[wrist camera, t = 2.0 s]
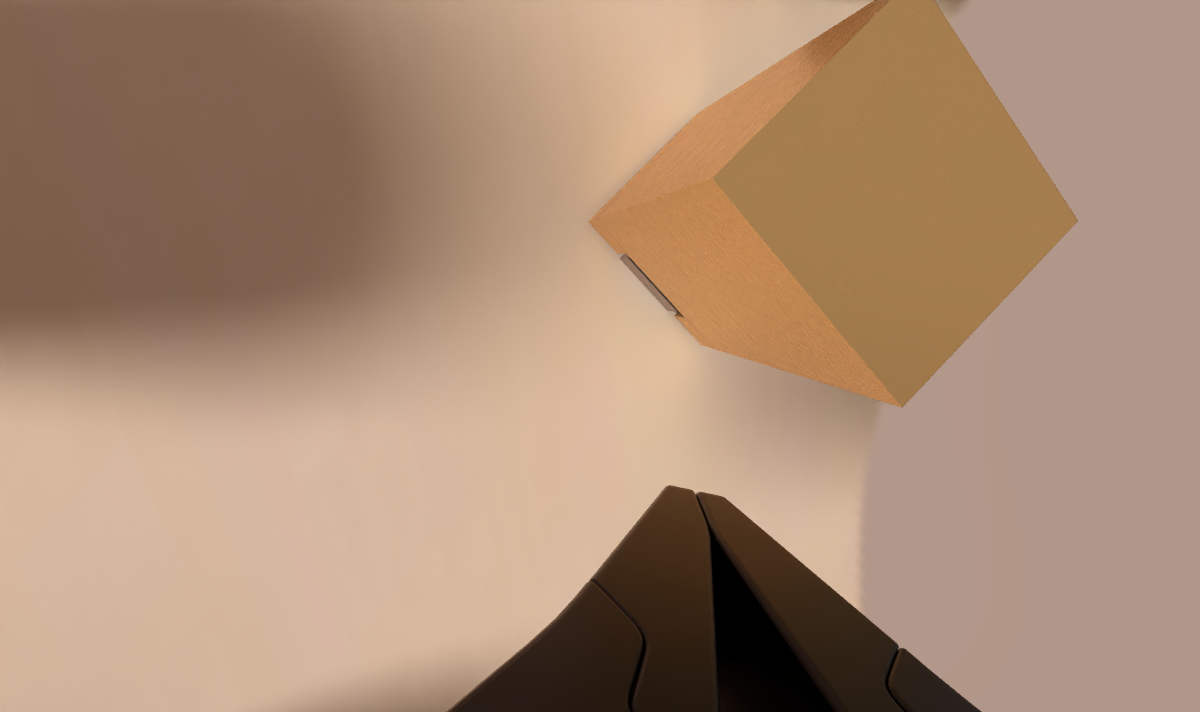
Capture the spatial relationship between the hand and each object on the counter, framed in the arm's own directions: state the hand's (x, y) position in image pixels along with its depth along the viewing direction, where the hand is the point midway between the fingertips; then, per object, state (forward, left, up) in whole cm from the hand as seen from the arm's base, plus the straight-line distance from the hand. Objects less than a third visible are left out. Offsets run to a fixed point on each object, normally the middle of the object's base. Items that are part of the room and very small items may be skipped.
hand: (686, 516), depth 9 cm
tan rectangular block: (+7, -1, -12) cm, 14 cm away
